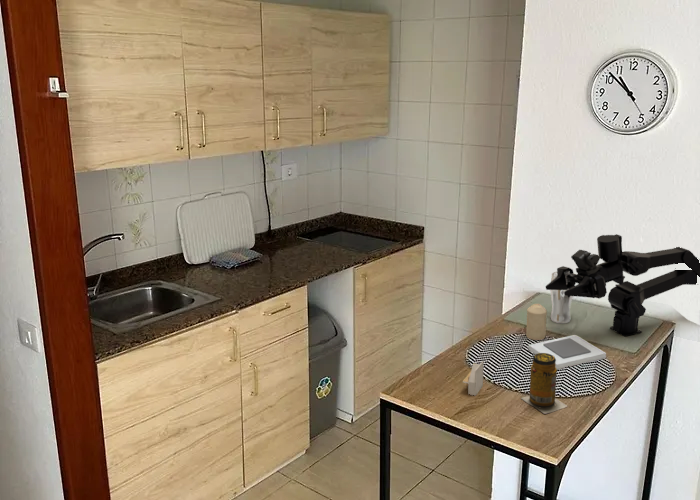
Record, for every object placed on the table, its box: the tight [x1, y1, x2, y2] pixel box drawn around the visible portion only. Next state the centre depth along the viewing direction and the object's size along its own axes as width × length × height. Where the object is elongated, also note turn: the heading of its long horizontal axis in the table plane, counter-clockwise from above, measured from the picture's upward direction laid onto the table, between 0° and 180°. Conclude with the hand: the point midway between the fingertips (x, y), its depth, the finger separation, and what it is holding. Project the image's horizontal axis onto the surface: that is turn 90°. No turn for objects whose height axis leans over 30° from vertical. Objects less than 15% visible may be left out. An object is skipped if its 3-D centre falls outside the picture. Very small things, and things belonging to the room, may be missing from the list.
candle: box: [525, 303, 548, 341], centre depth 193 cm, size 6×6×10 cm
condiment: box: [520, 353, 568, 415], centre depth 157 cm, size 7×8×12 cm
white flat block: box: [528, 334, 607, 370], centre depth 182 cm, size 16×13×2 cm
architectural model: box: [462, 360, 484, 397], centre depth 166 cm, size 3×7×7 cm, turn 150°
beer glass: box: [549, 271, 574, 324], centre depth 202 cm, size 7×7×15 cm
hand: (555, 290), depth 183 cm, fingers open, 9 cm apart
